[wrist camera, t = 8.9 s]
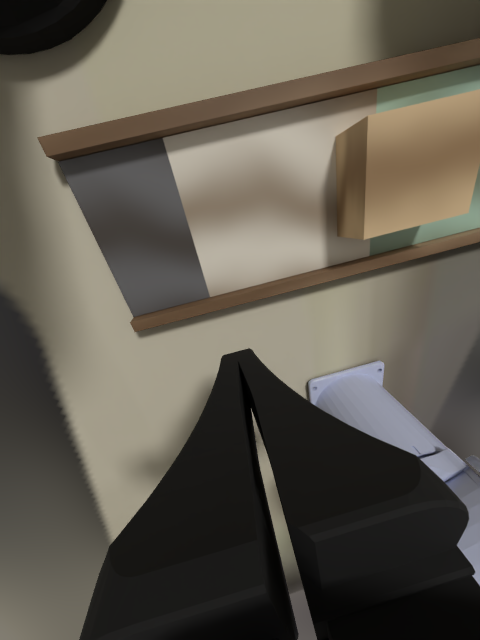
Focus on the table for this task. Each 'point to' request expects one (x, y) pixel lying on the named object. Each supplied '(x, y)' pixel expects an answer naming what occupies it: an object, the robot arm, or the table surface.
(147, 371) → the table surface
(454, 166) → the oak block
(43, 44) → the sculpture
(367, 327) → the table surface
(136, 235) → the channel
